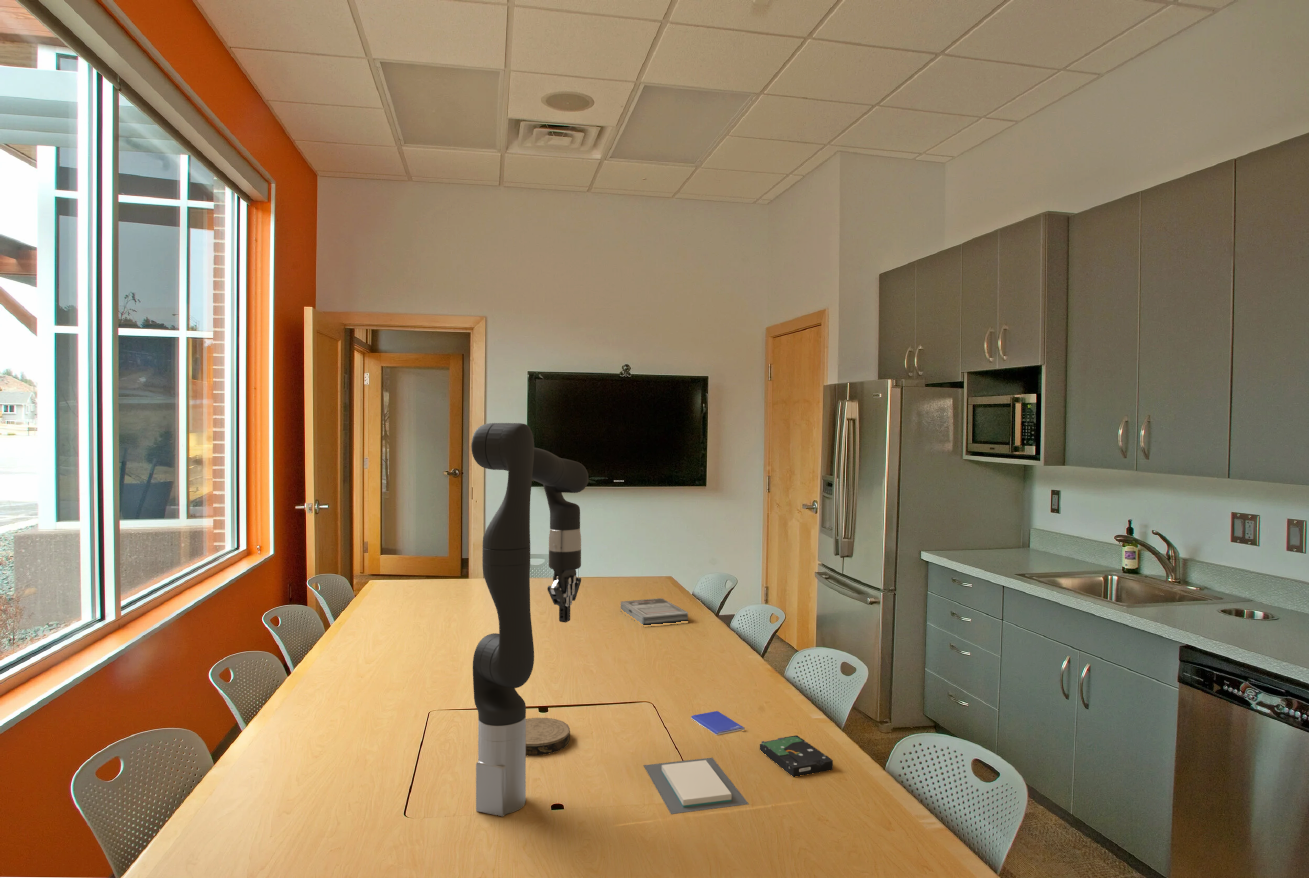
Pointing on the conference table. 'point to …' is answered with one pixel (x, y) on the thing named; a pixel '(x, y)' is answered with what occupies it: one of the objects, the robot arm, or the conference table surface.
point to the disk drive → (796, 756)
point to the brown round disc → (546, 736)
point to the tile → (696, 783)
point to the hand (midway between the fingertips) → (564, 621)
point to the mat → (671, 798)
